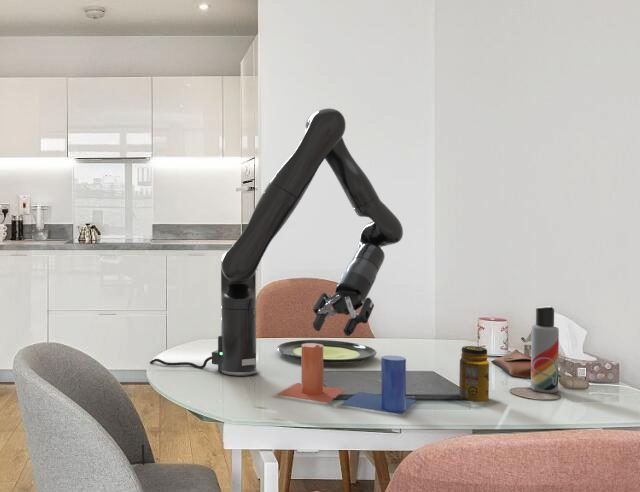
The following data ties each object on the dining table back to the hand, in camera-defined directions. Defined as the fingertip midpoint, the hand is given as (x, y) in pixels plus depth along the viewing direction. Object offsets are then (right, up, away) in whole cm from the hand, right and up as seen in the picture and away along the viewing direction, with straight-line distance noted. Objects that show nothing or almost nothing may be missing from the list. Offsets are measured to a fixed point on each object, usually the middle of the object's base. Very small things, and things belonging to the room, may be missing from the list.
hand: (330, 331), depth 172 cm
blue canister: (+9, -14, -19) cm, 24 cm away
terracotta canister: (-6, -13, -5) cm, 15 cm away
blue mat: (+7, -14, -13) cm, 21 cm away
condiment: (+29, -14, -10) cm, 34 cm away
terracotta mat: (-6, -14, -5) cm, 16 cm away
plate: (+8, -14, +36) cm, 39 cm away
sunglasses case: (+55, -14, +19) cm, 60 cm away
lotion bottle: (+51, -14, -1) cm, 53 cm away
